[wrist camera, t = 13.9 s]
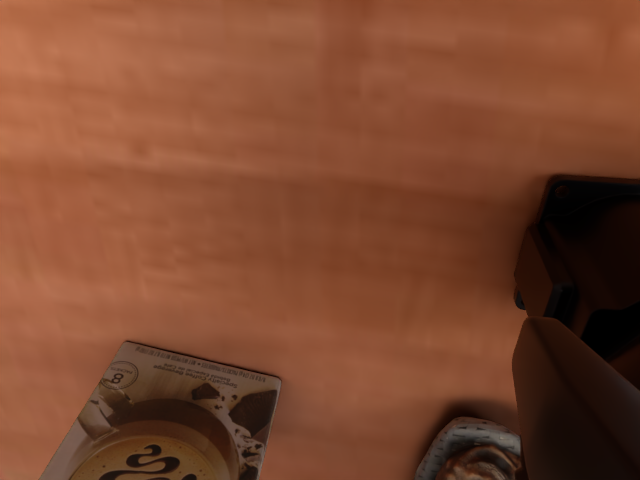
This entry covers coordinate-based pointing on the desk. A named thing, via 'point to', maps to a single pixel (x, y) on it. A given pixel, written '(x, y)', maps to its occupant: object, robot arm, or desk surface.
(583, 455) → the robot arm
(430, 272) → the desk surface
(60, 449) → the coffee box
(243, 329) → the desk surface
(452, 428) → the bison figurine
